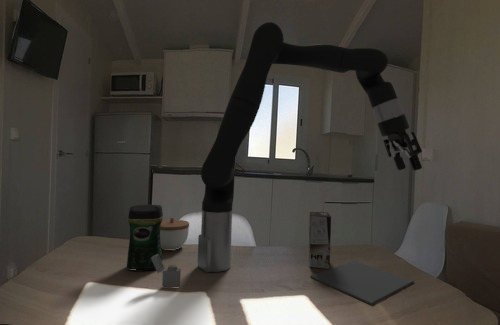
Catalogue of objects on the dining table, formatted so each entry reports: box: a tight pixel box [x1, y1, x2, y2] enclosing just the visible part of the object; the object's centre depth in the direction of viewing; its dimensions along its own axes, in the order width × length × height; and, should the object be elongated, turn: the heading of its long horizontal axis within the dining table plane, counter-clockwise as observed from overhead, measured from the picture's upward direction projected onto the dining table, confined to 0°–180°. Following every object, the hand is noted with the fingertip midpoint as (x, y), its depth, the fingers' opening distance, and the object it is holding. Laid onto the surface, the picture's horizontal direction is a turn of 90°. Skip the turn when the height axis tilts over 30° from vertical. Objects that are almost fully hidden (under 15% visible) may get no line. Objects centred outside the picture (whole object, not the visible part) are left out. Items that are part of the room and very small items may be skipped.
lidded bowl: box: [160, 217, 190, 249], centre depth 98 cm, size 13×13×11 cm
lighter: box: [151, 254, 182, 288], centre depth 66 cm, size 7×2×8 cm, turn 91°
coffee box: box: [308, 211, 332, 270], centre depth 86 cm, size 9×6×16 cm
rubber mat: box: [309, 260, 415, 306], centre depth 74 cm, size 22×18×1 cm
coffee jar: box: [126, 204, 164, 271], centre depth 79 cm, size 10×8×19 cm
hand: (409, 169), depth 77 cm, fingers open, 8 cm apart
